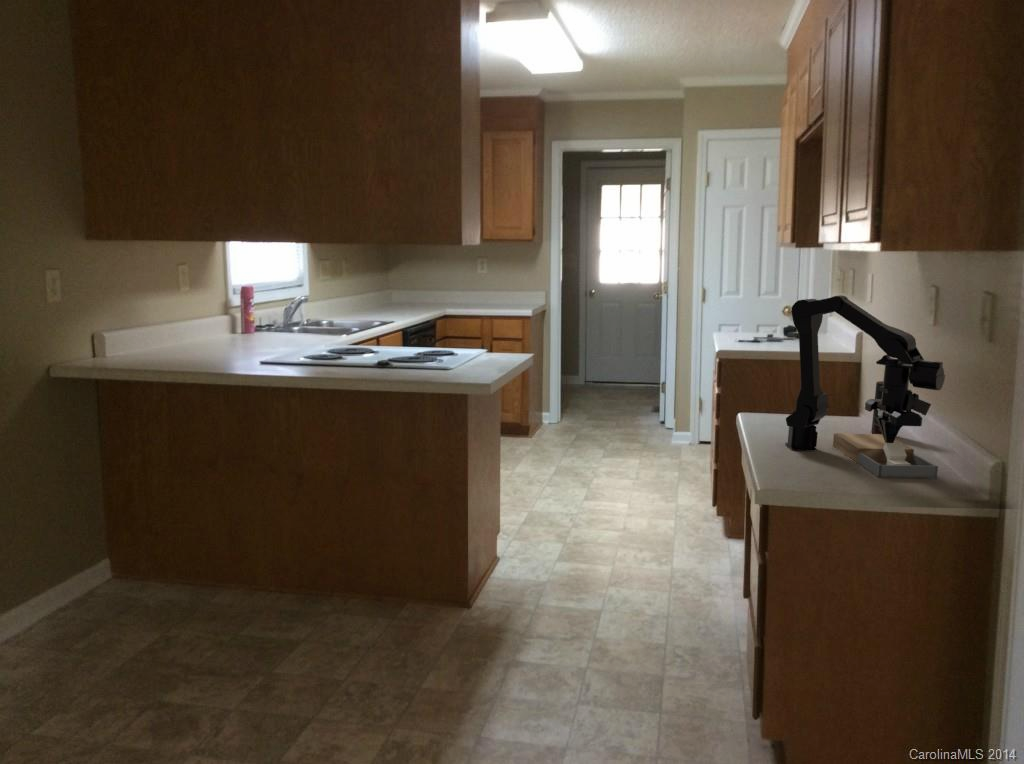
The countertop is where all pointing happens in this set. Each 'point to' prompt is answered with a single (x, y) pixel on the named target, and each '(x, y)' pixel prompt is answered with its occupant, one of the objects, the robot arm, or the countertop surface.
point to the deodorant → (874, 423)
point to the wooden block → (865, 446)
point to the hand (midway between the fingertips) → (888, 446)
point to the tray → (899, 468)
